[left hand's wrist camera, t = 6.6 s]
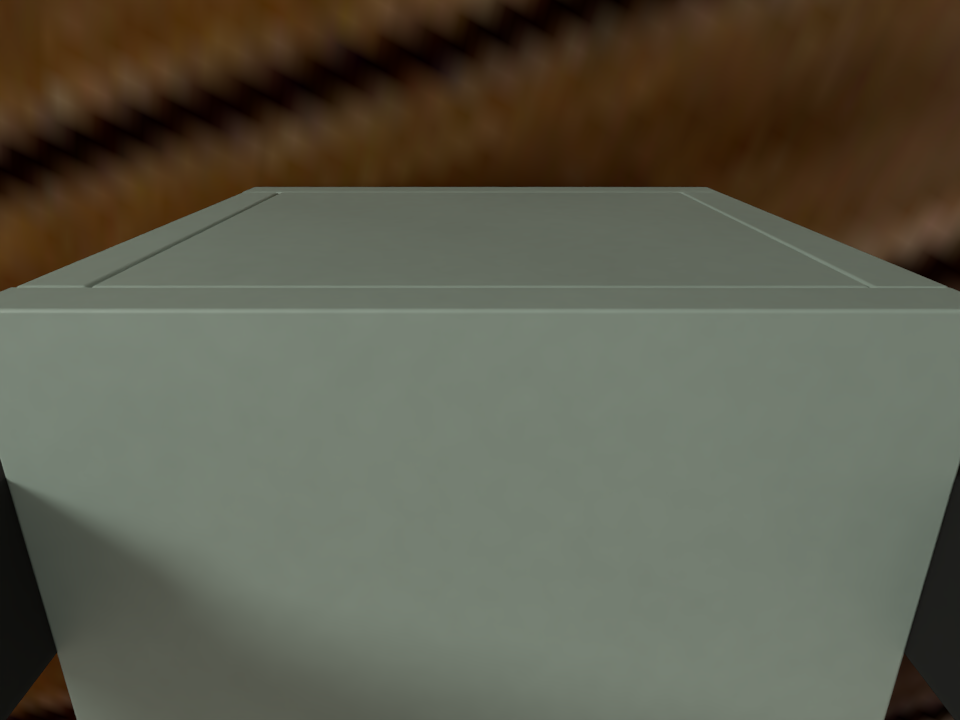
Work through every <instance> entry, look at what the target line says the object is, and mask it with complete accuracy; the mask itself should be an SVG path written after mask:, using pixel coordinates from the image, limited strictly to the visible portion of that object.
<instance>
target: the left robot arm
mask: <svg viewBox="0 0 960 720" xmlns="http://www.w3.org/2000/svg"><path fill="white" fill-rule="evenodd" d="M56 653H57V650H56V647H55V643H54V640H53V636H52V633H51V630H50V626H49V623H48V619H47V616H46V612H45V609H44V606H43V602H42V599H41V595H40V592H39V589H38V585H37V582H36V578H35V575H34V572H33V568H32V565H31V561H30V558H29V555H28V551H27V548H26V544H25V541H24V538H23V534H22V531H21V527H20V524H19V521H18V517H17V514H16V510H15V507H14V504H13V500H12V497H11V493H10V490H9V487H8V483H7V480H6V476H5V473H4V469H3V466H2V463H1V459H0V720H6V719H7V718H8V716H9V715H10V714H11V712H12V711H13V710H14V708H15V707H16V706H17V704H18V703H19V702H20V700H21V699H22V698H23V697H24V695H25V694H26V693H27V691H28V690H29V689H30V687H31V686H32V685H33V683H34V682H35V681H36V679H37V678H38V677H39V675H40V674H41V673H42V671H43V670H44V669H45V668H46V666H47V665H48V664H49V662H50V661H51V660H52V658H53V657H54V656H55V654H56ZM904 653H905V655H906V656H907V657H908V659H909V660H910V661H911V663H912V664H913V665H914V667H915V668H916V669H917V670H918V672H919V673H920V674H921V676H922V677H923V678H924V680H925V681H926V682H927V684H928V685H929V686H930V688H931V689H932V690H933V692H934V693H935V694H936V696H937V697H938V698H939V699H940V701H941V702H942V703H943V705H944V706H945V707H946V709H947V710H948V711H949V713H950V714H951V715H952V717H953V718H954V719H955V720H960V465H959V468H958V472H957V475H956V478H955V482H954V485H953V489H952V492H951V495H950V499H949V502H948V506H947V509H946V512H945V516H944V519H943V523H942V526H941V529H940V533H939V536H938V540H937V543H936V546H935V550H934V553H933V556H932V560H931V563H930V567H929V570H928V573H927V577H926V580H925V584H924V587H923V590H922V594H921V597H920V601H919V604H918V607H917V611H916V614H915V618H914V621H913V624H912V628H911V631H910V635H909V638H908V641H907V645H906V648H905V652H904Z"/></svg>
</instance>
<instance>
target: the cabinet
mask: <svg viewBox="0 0 960 720" xmlns="http://www.w3.org/2000/svg"><path fill="white" fill-rule="evenodd" d="M0 459H1V463H2V466H3V469H4V473H5V476H6V480H7V483H8V487H9V490H10V493H11V497H12V500H13V504H14V507H15V510H16V514H17V517H18V521H19V524H20V527H21V531H22V534H23V538H24V541H25V544H26V548H27V551H28V555H29V558H30V561H31V565H32V568H33V572H34V575H35V578H36V582H37V585H38V589H39V592H40V595H41V599H42V602H43V606H44V609H45V612H46V616H47V619H48V623H49V626H50V630H51V633H52V636H53V640H54V643H55V647H56V650H57V653H58V657H59V660H60V664H61V667H62V670H63V674H64V677H65V681H66V684H67V687H68V691H69V694H70V698H71V701H72V704H73V708H74V711H75V715H76V718H77V720H884V719H885V716H886V713H887V709H888V706H889V702H890V699H891V696H892V692H893V689H894V685H895V682H896V679H897V675H898V672H899V668H900V665H901V662H902V658H903V655H904V652H905V648H906V645H907V641H908V638H909V635H910V631H911V628H912V624H913V621H914V618H915V614H916V611H917V607H918V604H919V601H920V597H921V594H922V590H923V587H924V584H925V580H926V577H927V573H928V570H929V567H930V563H931V560H932V556H933V553H934V550H935V546H936V543H937V540H938V536H939V533H940V529H941V526H942V523H943V519H944V516H945V512H946V509H947V506H948V502H949V499H950V495H951V492H952V489H953V485H954V482H955V478H956V475H957V472H958V468H959V465H960V292H959V291H957V290H954V289H952V288H948V287H947V286H944V285H942V284H940V283H937V282H935V281H932V280H930V279H928V278H925V277H923V276H920V275H918V274H915V273H913V272H911V271H908V270H906V269H903V268H901V267H899V266H896V265H894V264H891V263H889V262H886V261H884V260H882V259H879V258H877V257H874V256H872V255H870V254H867V253H865V252H862V251H860V250H857V249H855V248H853V247H850V246H848V245H845V244H843V243H841V242H838V241H836V240H833V239H831V238H828V237H826V236H824V235H821V234H819V233H816V232H814V231H811V230H809V229H807V228H804V227H802V226H799V225H797V224H795V223H792V222H790V221H787V220H785V219H782V218H780V217H778V216H775V215H773V214H770V213H768V212H766V211H763V210H761V209H758V208H756V207H753V206H751V205H749V204H746V203H744V202H741V201H739V200H737V199H734V198H732V197H729V196H727V195H724V194H722V193H720V192H717V191H715V190H712V189H710V188H707V187H254V188H252V189H249V190H247V191H244V192H243V193H241V194H239V195H236V196H234V197H231V198H229V199H227V200H224V201H222V202H219V203H217V204H215V205H212V206H210V207H207V208H205V209H203V210H200V211H198V212H195V213H193V214H191V215H188V216H186V217H183V218H181V219H179V220H176V221H174V222H171V223H169V224H166V225H164V226H162V227H159V228H157V229H154V230H152V231H150V232H147V233H145V234H142V235H140V236H138V237H135V238H133V239H130V240H128V241H126V242H123V243H121V244H118V245H116V246H114V247H111V248H109V249H106V250H104V251H102V252H99V253H97V254H94V255H92V256H90V257H87V258H85V259H82V260H80V261H78V262H75V263H73V264H70V265H68V266H66V267H63V268H61V269H58V270H56V271H53V272H51V273H49V274H46V275H44V276H41V277H39V278H37V279H34V280H32V281H29V282H27V283H25V284H22V285H20V286H18V287H17V288H9V289H7V290H4V291H2V292H0Z"/></svg>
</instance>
